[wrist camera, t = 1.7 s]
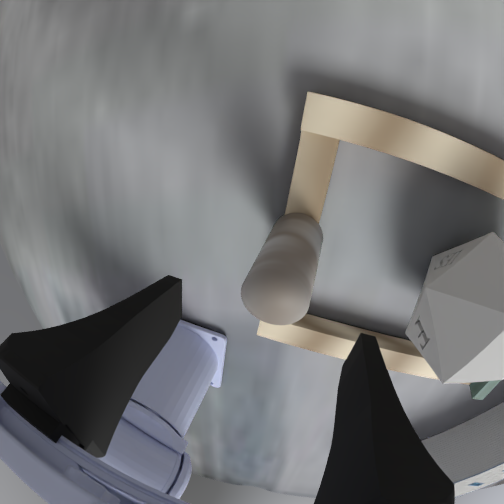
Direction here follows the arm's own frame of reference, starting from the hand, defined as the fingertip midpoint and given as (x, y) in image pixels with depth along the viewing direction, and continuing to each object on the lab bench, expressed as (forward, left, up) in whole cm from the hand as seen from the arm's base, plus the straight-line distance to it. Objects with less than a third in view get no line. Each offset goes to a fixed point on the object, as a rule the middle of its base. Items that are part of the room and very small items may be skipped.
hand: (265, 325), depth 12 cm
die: (+11, 0, -9) cm, 15 cm away
